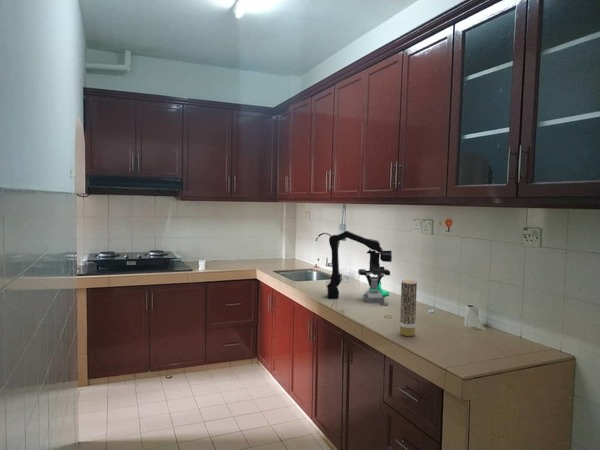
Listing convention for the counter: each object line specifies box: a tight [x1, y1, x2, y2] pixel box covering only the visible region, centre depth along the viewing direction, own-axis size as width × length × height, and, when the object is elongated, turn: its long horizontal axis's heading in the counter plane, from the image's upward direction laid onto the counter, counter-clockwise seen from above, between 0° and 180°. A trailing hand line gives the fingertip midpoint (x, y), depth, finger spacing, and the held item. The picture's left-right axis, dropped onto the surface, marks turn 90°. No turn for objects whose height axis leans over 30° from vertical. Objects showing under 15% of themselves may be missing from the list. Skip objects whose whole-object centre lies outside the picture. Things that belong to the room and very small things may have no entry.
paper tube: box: [399, 279, 418, 337], centre depth 187 cm, size 7×7×25 cm
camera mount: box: [367, 280, 390, 297], centre depth 265 cm, size 12×8×10 cm, turn 36°
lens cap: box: [379, 302, 389, 307], centre depth 240 cm, size 5×5×1 cm
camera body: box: [362, 290, 385, 304], centre depth 248 cm, size 11×8×6 cm
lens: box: [369, 276, 378, 289], centre depth 248 cm, size 5×5×7 cm
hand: (373, 286), depth 248 cm, fingers closed on lens, 4 cm apart
